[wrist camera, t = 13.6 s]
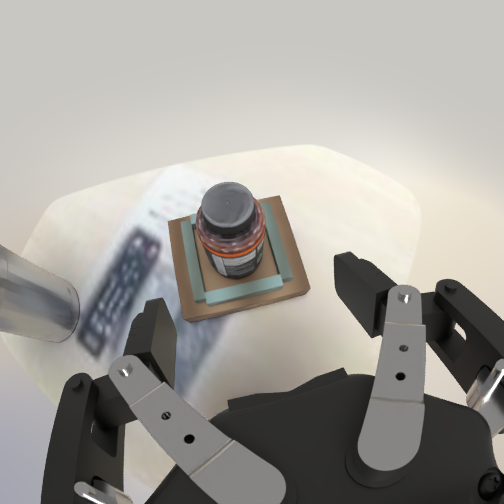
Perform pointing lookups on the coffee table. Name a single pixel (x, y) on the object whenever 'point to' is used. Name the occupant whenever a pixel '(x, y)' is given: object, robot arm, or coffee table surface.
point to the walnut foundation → (242, 289)
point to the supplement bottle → (231, 229)
